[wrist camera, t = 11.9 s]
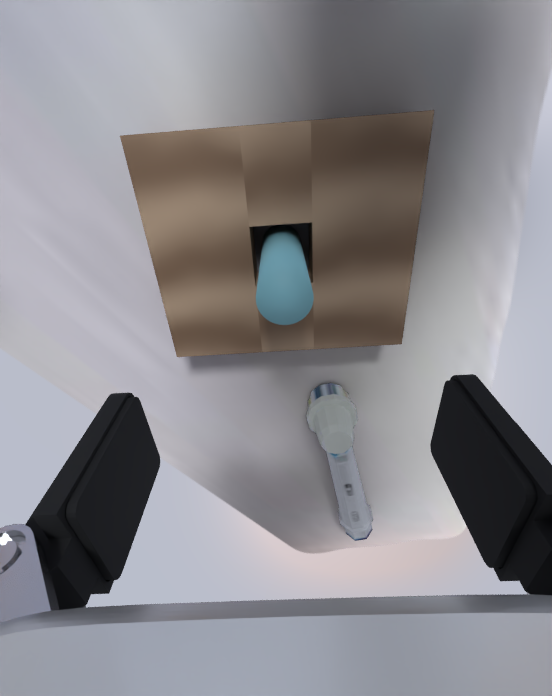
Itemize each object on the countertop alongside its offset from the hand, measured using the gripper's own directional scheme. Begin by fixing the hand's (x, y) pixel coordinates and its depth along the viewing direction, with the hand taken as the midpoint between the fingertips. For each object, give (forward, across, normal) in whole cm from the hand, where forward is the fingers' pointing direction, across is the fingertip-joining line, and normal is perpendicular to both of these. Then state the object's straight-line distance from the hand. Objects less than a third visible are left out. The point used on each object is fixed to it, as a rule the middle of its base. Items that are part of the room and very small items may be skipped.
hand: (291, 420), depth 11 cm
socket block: (+22, 0, 0) cm, 22 cm away
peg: (+22, 0, 0) cm, 22 cm away
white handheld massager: (+22, -6, +28) cm, 36 cm away
